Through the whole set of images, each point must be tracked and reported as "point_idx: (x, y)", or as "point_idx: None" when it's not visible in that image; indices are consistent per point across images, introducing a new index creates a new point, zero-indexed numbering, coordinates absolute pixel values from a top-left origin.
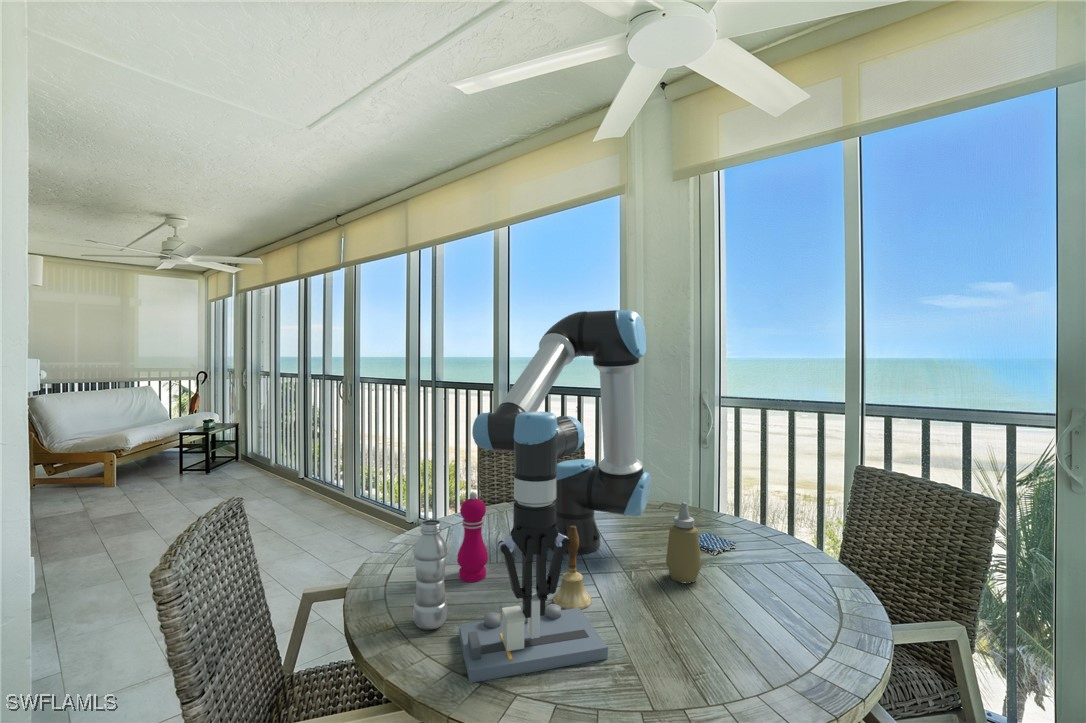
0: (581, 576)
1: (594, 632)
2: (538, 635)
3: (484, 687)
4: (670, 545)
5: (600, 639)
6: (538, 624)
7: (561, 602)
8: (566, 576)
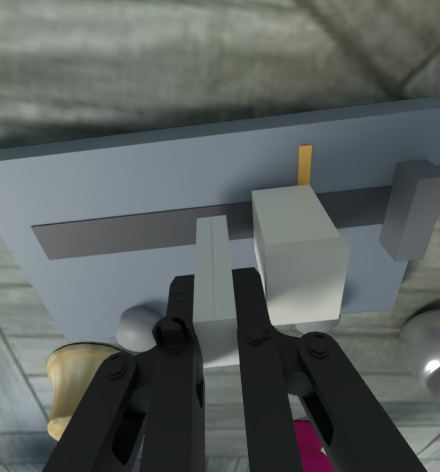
0: (48, 430)
1: (14, 244)
2: (201, 222)
3: (397, 65)
4: None
5: None
6: (201, 246)
7: None
8: None
